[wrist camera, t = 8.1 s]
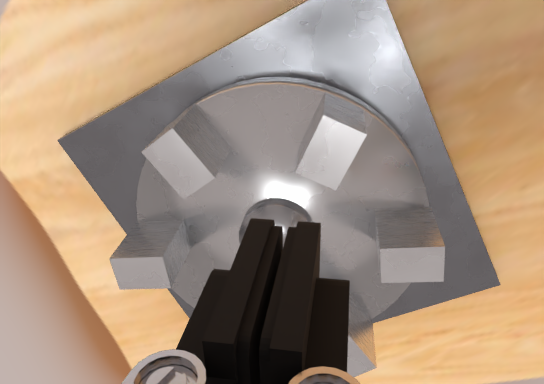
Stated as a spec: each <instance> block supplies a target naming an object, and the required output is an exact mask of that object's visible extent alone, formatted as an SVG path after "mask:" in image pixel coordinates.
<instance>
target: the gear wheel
mask: <svg viewBox="0 0 544 384" xmlns="http://www.w3.org/2000/svg"><path fill="white" fill-rule="evenodd" d="M142 154H143V155H144V156H145V157H146V161H145V163H144V166H143V168H142V171H141V175H140V179H139V184H138V188H137V202H136V207H137V219H138V222H136V224H135V225H134V226H133V228H132V229H131V230H130V232H129V233H128V234H127V236H126V237H125V238H124V240H123V241H122V242H121V244H120V245H119V246H118V248H117V249H116V250H115V252H114V253H113V255H112V256H111V257H110V262H111V265H112V268H113V271H114V274H115V277H116V280H117V283H118V286H119V289H159V288H172V289H173V291H174V292H175V293H177V294H178V295H179V296H180V297H181V298H182V299H183V300H184V301H185V302H186V303H188V304H189V305H191V306H192V307H193V308H195V306H196V304H197V302H198V300H199V297H200V295H201V293H202V291H203V288H204V286H205V284H206V282H207V280H208V277H209V275H210V273H211V272H212V270H214V269H222V270H230V269H231V266H232V264H233V261H234V259H235V256H236V254H237V251H238V249H239V246H240V244H241V241H242V239H243V236H244V234H245V231H246V228H247V226H248V223H249V221H250V219H251V218H257V219H272V220H274V223H275V226H282V229H283V246H284V242H285V238H286V234H287V230H288V227H297V223H298V221H302V222H317V223H321V241H320V274H319V278H328V279H340V280H350V291H349V325H348V359H347V373H348V374H350V375H351V376H352V377H355V376H358V375H360V374H363V373H365V372H368V371H370V370H372V369H375V368H377V367H376V356H375V346H374V335H373V324H372V319H373V318H374V317H376V316H377V315H379V314H380V313H381V312H383V311H384V310H386V309H387V308H388V307H389V306H390V305H391V304H392V303H394V302H395V301H396V300H397V299H398V298H399V297H400V296H401V294H402V293H403V292H404V291H405V290H406V289H407V287H408V286H409V285H410V283H411V282H444V261H445V245H444V242H443V239H442V237H441V234H440V231H439V228H438V226H437V223H436V220H435V217H434V215H433V212H432V209H431V207H429V202H428V197H427V192H426V188H425V185H424V182H423V180H422V177H421V174H420V172H419V169H418V167H417V164H416V161H415V159H414V157H413V155H412V153H411V151H410V150H409V148H408V146H407V144H406V143H405V141H404V140H403V138H402V137H401V136H400V135H399V133H398V132H397V131H396V130H395V128H394V127H393V126H392V125H391V124H390V123H389V122H388V121H387V120H386V119H385V118H384V117H383V116H382V115H381V114H380V113H379V112H377V111H376V110H374V109H373V108H372V107H370V106H369V105H368V104H366V103H365V102H363V101H362V100H360V99H358V98H356V97H354V96H353V95H351V94H349V93H347V92H345V91H343V90H340V89H338V88H335V87H332V86H330V85H327V84H324V83H320V82H316V81H312V80H307V79H302V78H291V77H261V78H256V79H250V80H244V81H240V82H237V83H234V84H230V85H227V86H224V87H222V88H220V89H217V90H215V91H213V92H211V93H209V94H207V95H205V96H204V97H202V98H201V99H199V100H198V101H196V102H195V103H193V104H192V105H190V106H189V107H188V108H187V109H186V110H185V111H184V112H182V113H181V114H180V115H179V116H178V117H177V118H176V119H175V120H174V121H173V122H171V123H170V124H169V125H167V127H166V128H165V129H164V130H163V131H162V132H161V133H160V134H159V135H158V136H157V137H156V138H155V139H154V140H153V141H152V142H151V143H150V144H149V145H148V146H147V147H146V148H145V149H144V150H143V151H142Z"/></svg>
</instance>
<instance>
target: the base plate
mask: <svg viewBox="0 0 544 384" xmlns="http://www.w3.org/2000/svg"><path fill="white" fill-rule="evenodd" d="M261 77H291V78H302V79H307V80H312V81H316V82H320V83H324V84H327V85H330V86H332V87H335V88H338V89H340V90H343V91H345V92H347V93H349V94H351V95H353V96H354V97H356V98H358V99H360V100H362V101H363V102H365V103H366V104H368V105H369V106H370V107H372V108H373V109H374V110H376V111H377V112H379V113H380V114H381V115H382V116H383V117H384V118H385V119H386V120H387V121H388V122H389V123H390V124H391V125H392V126H393V127H394V128H395V130H396V131H397V132H398V133H399V135H400V136H401V137H402V138H403V140H404V141H405V143H406V144H407V146H408V148H409V150H410V151H411V153H412V155H413V157H414V159H415V161H416V164H417V167H418V169H419V172H420V174H421V177H422V180H423V182H424V185H425V188H426V192H427V197H428V202H429V207H431V209H432V212H433V215H434V217H435V220H436V223H437V226H438V228H439V231H440V234H441V237H442V239H443V242H444V245H445V261H444V282H411V283H410V285H409V286H408V287H407V289H406V290H405V291H404V292H403V293H402V294H401V296H400V297H399V298H398V299H397V300H396V301H395V302H394V303H392V304H391V305H390V306H389V307H388V308H387V309H386V310H384V311H383V312H381V313H380V314H379V315H377V316H376V317H374V318H373V319H372V323H375V322H378V321H382V320H385V319H388V318H392V317H395V316H398V315H402V314H405V313H408V312H412V311H415V310H418V309H422V308H425V307H428V306H432V305H435V304H439V303H442V302H445V301H449V300H452V299H455V298H459V297H462V296H465V295H469V294H472V293H475V292H479V291H482V290H485V289H489V288H492V287H495V286H499V285H500V282H499V280H498V277H497V275H496V272H495V270H494V267H493V265H492V262H491V260H490V258H489V255H488V253H487V250H486V248H485V245H484V243H483V240H482V238H481V235H480V233H479V230H478V228H477V225H476V223H475V220H474V218H473V215H472V213H471V210H470V208H469V205H468V203H467V200H466V198H465V195H464V193H463V191H462V188H461V186H460V183H459V181H458V178H457V176H456V173H455V171H454V168H453V166H452V163H451V161H450V158H449V156H448V153H447V151H446V148H445V146H444V143H443V141H442V138H441V136H440V133H439V131H438V129H437V126H436V124H435V121H434V119H433V116H432V114H431V111H430V109H429V106H428V104H427V101H426V99H425V96H424V94H423V91H422V89H421V86H420V84H419V81H418V79H417V76H416V74H415V71H414V69H413V67H412V64H411V62H410V59H409V57H408V54H407V52H406V49H405V47H404V44H403V42H402V39H401V37H400V34H399V32H398V29H397V27H396V24H395V22H394V19H393V17H392V14H391V12H390V9H389V7H388V4H387V2H386V0H307V1H305V2H303V3H301V4H299V5H298V6H296V7H294V8H292V9H291V10H289V11H287V12H285V13H283V14H282V15H280V16H278V17H276V18H274V19H273V20H271V21H269V22H267V23H265V24H264V25H262V26H260V27H258V28H256V29H255V30H253V31H251V32H249V33H247V34H246V35H244V36H242V37H240V38H239V39H237V40H235V41H233V42H231V43H230V44H228V45H226V46H224V47H222V48H221V49H219V50H217V51H215V52H213V53H212V54H210V55H208V56H206V57H204V58H203V59H201V60H199V61H197V62H195V63H194V64H192V65H190V66H188V67H187V68H185V69H183V70H181V71H179V72H178V73H176V74H174V75H172V76H170V77H169V78H167V79H165V80H163V81H161V82H160V83H158V84H156V85H154V86H152V87H151V88H149V89H147V90H145V91H144V92H142V93H140V94H138V95H136V96H135V97H133V98H131V99H129V100H127V101H126V102H124V103H122V104H120V105H118V106H117V107H115V108H113V109H111V110H109V111H108V112H106V113H104V114H102V115H100V116H99V117H97V118H95V119H93V120H92V121H90V122H88V123H86V124H84V125H83V126H81V127H79V128H77V129H75V130H74V131H72V132H70V133H68V134H66V135H65V136H63V137H62V138H60V139H59V140H57V141H58V142H59V143H60V145H61V146H62V147H63V149H64V150H65V152H66V153H67V154H68V156H69V157H70V158H71V160H72V161H73V162H74V164H75V165H76V166H77V168H78V169H79V170H80V172H81V173H82V174H83V176H84V177H85V178H86V180H87V181H88V182H89V184H90V185H91V186H92V188H93V189H94V191H95V192H96V193H97V195H98V196H99V197H100V199H101V200H102V201H103V203H104V204H105V205H106V207H107V208H108V209H109V211H110V212H111V213H112V215H113V216H114V217H115V219H116V220H117V221H118V223H119V224H120V226H121V227H122V228H123V230H124V231H125V232H126V234H128V233H129V232H130V230H131V229H132V228H133V226H134V225H135V224H136V222H138V219H137V207H136V202H137V188H138V184H139V179H140V175H141V171H142V168H143V166H144V163H145V161H146V157H145V156H144V155H143V154H142V151H143V150H144V149H145V148H146V147H147V146H148V145H149V144H150V143H151V142H152V141H153V140H154V139H155V138H156V137H157V136H158V135H159V134H160V133H161V132H162V131H163V130H164V129H165V128H166V127H167V125H169V124H170V123H171V122H173V121H174V120H175V119H176V118H177V117H178V116H179V115H180V114H181V113H182V112H184V111H185V110H186V109H187V108H188V107H189V106H190V105H192V104H193V103H195V102H196V101H198V100H199V99H201V98H202V97H204V96H205V95H207V94H209V93H211V92H213V91H215V90H217V89H220V88H222V87H224V86H227V85H230V84H234V83H237V82H240V81H244V80H250V79H256V78H261ZM167 289H168V290H169V291H170V293H171V294H172V295H173V297H174V298H175V299H176V301H177V302H178V304H179V305H180V306H181V308H182V309H183V310H184V312H185V313H186V314H187V316H188V317H189V318H190V317H191V315H192V313H193V311H194V308H193V307H192V306H191V305H189V304H188V303H186V302H185V301H184V300H183V299H182V298H181V297H180V296H179V295H178V294H177V293H175V292H174V291H173V289H172V288H167Z"/></svg>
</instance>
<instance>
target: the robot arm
mask: <svg viewBox="0 0 544 384" xmlns="http://www.w3.org/2000/svg"><path fill="white" fill-rule="evenodd" d="M320 241H321V223H317V222H302V221H298V223H297V227H288V230H287V234H286V238H285V242H284V246H283V229H282V226H275V223H274V220H272V219H257V218H251V219H250V221H249V223H248V226H247V228H246V231H245V234H244V236H243V239H242V241H241V244H240V246H239V249H238V251H237V254H236V256H235V259H234V261H233V264H232V266H231V269H230V270H222V269H214V270H212V272H211V273H210V275H209V277H208V280H207V282H206V284H205V286H204V288H203V291H202V293H201V295H200V297H199V300H198V302H197V304H196V306H195V308H194V311H193V313H192V315H191V317H190V319H189V322H188V324H187V326H186V328H185V331H184V333H183V335H182V337H181V339H180V342H179V344H178V346H177V348H176V350H174V349H172V350H165V351H160V352H157V353H155V354H152V355H149V356H148V357H146V358H145V359H143V360H142V361H140V362H139V363H138V364H137V365H136V366H135V367H134V368H133V369H132V370H131V371H130V373H129V374H128V375H127V377H126V378H125V379H124V381H123V382H122V384H360V383H359V382H358V380H357V379H355V378H354V377H352V376H351V375H350V374H348V373H347V359H348V325H349V291H350V280H340V279H328V278H319V274H320Z"/></svg>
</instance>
